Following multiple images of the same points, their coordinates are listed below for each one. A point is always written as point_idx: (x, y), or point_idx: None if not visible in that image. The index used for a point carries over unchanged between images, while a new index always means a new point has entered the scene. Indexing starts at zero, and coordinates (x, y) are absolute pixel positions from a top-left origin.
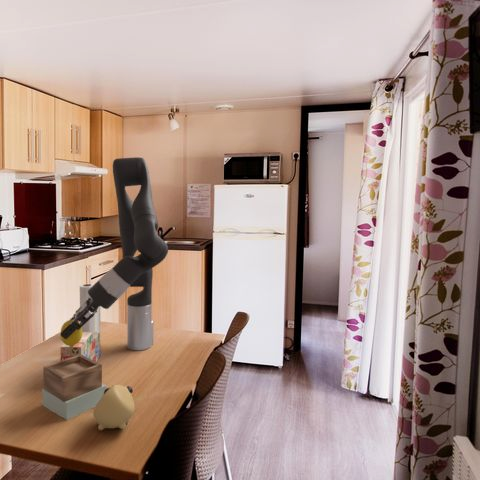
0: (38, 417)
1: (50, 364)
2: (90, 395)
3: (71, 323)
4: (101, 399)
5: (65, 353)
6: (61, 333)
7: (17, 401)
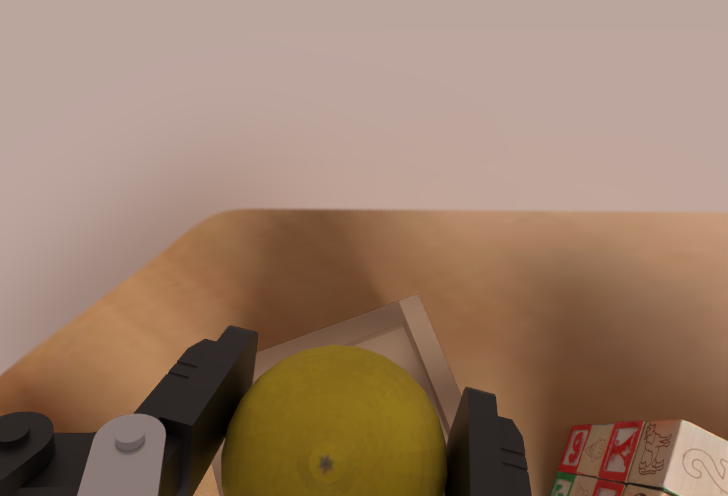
0: (310, 309)
1: (427, 331)
2: None
3: (36, 423)
4: None
5: (645, 450)
6: (226, 335)
7: (474, 249)
